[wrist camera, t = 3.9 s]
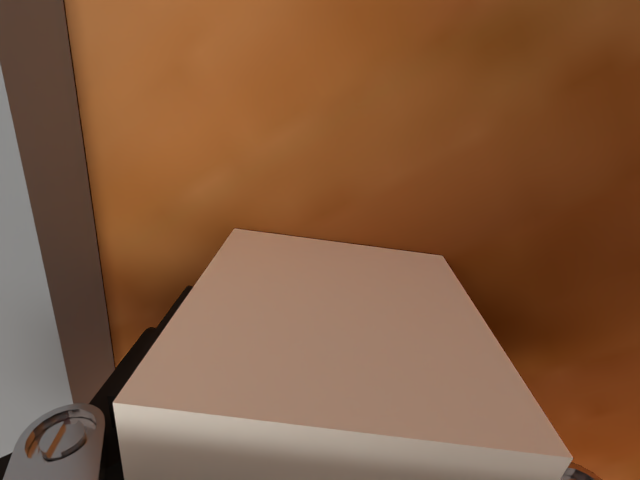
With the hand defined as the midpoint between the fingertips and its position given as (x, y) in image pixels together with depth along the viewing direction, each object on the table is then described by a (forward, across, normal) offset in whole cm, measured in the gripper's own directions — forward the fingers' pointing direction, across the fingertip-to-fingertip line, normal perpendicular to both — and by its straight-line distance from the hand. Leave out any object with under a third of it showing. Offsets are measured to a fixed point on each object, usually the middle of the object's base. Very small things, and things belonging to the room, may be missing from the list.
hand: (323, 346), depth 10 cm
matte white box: (+1, 0, 0) cm, 1 cm away
